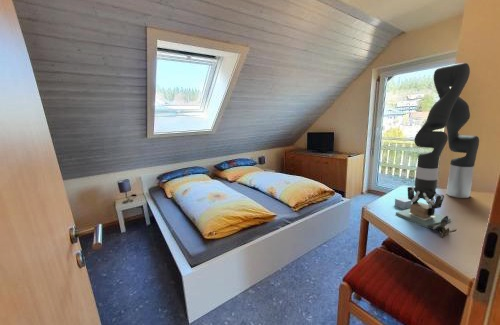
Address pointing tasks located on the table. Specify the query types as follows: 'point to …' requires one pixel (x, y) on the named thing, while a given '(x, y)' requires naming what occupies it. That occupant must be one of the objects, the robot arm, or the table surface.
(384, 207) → the table surface
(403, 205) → the blue-grey brick
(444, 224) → the eagle figurine
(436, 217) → the board
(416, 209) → the walnut brick
